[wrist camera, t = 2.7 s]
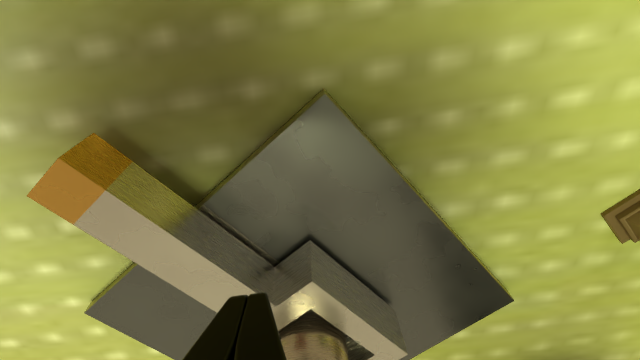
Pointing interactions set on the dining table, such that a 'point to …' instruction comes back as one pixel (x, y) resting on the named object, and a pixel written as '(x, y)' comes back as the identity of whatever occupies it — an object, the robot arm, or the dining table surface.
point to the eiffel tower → (625, 218)
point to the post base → (322, 243)
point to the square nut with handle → (209, 249)
